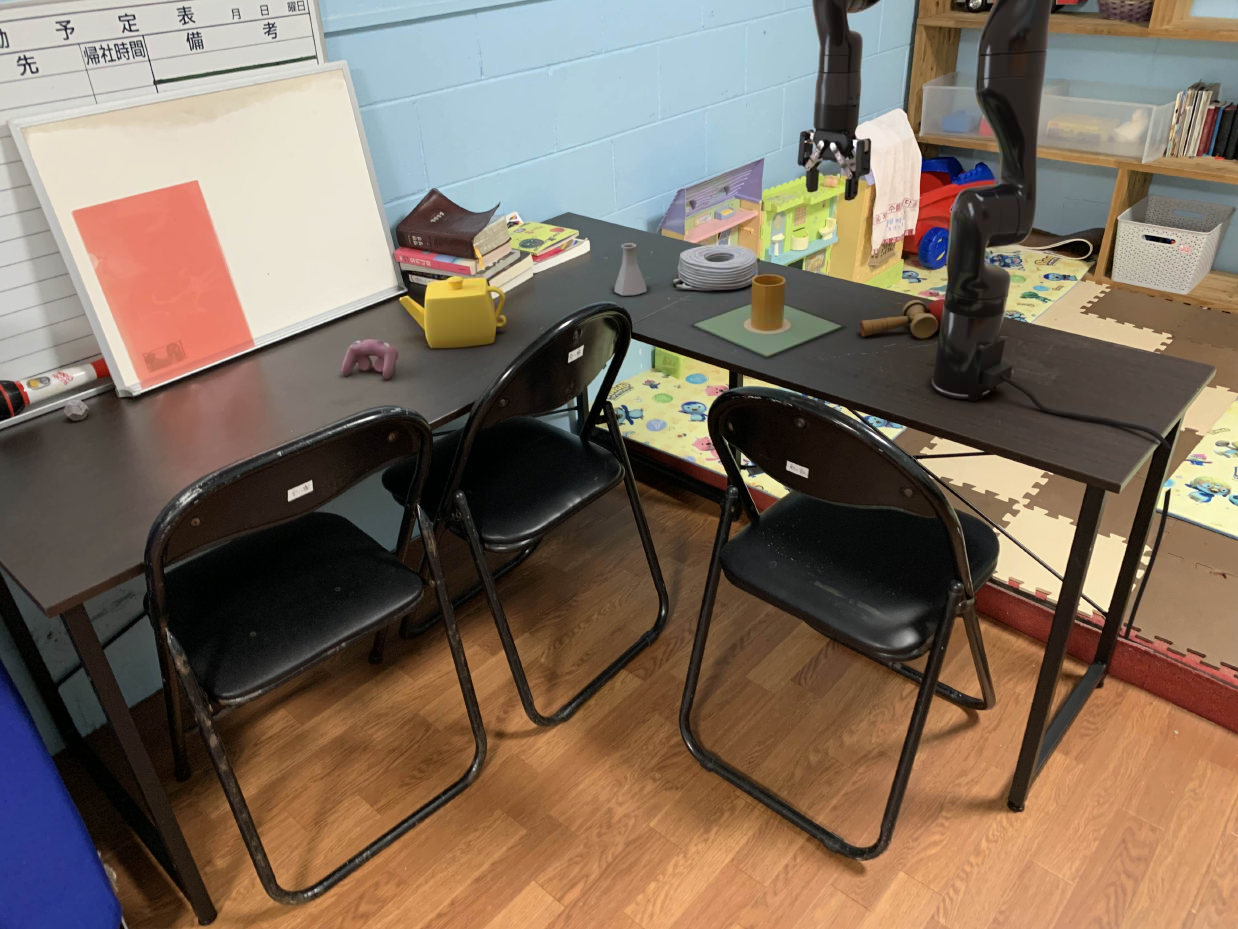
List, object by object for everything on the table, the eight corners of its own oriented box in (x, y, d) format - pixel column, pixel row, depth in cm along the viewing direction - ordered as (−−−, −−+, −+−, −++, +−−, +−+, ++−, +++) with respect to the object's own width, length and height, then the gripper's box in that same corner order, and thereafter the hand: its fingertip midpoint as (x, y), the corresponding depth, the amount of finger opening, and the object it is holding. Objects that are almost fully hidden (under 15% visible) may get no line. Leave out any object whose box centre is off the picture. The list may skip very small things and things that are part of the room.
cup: (789, 324, 178) (792, 280, 174) (766, 333, 175) (768, 288, 171) (766, 315, 183) (768, 271, 178) (743, 324, 179) (745, 279, 175)
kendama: (870, 352, 170) (966, 332, 170) (867, 319, 168) (964, 298, 168) (857, 342, 177) (950, 323, 177) (854, 310, 175) (948, 290, 175)
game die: (85, 410, 161) (79, 395, 159) (94, 416, 158) (88, 401, 157) (64, 418, 158) (57, 403, 157) (73, 424, 156) (67, 409, 155)
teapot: (404, 353, 176) (393, 294, 170) (409, 327, 186) (399, 271, 180) (509, 344, 177) (502, 285, 171) (508, 319, 188) (502, 263, 182)
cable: (669, 290, 198) (668, 263, 195) (687, 263, 212) (687, 238, 209) (750, 296, 193) (751, 268, 190) (763, 268, 207) (764, 242, 204)
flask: (609, 287, 201) (607, 242, 196) (641, 282, 203) (639, 238, 198) (619, 298, 195) (617, 252, 190) (651, 293, 197) (650, 247, 192)
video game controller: (400, 380, 169) (402, 341, 168) (387, 379, 165) (390, 340, 164) (352, 375, 172) (354, 338, 171) (338, 375, 167) (340, 336, 167)
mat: (841, 327, 177) (841, 325, 177) (767, 357, 167) (767, 355, 167) (766, 300, 191) (766, 297, 191) (694, 326, 181) (694, 323, 181)
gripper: (790, 98, 160) (786, 193, 168) (856, 106, 150) (848, 206, 158) (819, 92, 163) (814, 185, 172) (885, 99, 154) (876, 198, 162)
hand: (830, 195), depth 165 cm, fingers open, 8 cm apart
